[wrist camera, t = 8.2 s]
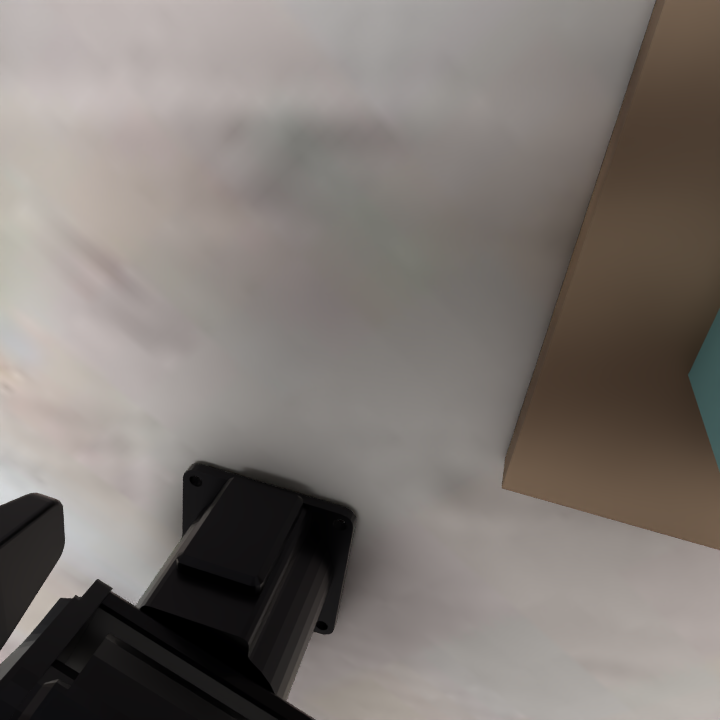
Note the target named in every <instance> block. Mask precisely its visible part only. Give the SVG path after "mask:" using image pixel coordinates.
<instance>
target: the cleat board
mask: <svg viewBox="0 0 720 720" xmlns="http://www.w3.org/2000/svg"><path fill="white" fill-rule="evenodd" d="M719 308H720V0H656V3H655V6H654V9H653V12H652V15H651V18H650V21H649V24H648V27H647V30H646V33H645V36H644V39H643V42H642V45H641V48H640V51H639V54H638V57H637V60H636V63H635V66H634V69H633V72H632V76H631V79H630V82H629V85H628V88H627V91H626V94H625V97H624V100H623V103H622V106H621V109H620V112H619V115H618V118H617V121H616V124H615V127H614V130H613V133H612V136H611V139H610V142H609V145H608V148H607V151H606V154H605V157H604V160H603V163H602V166H601V169H600V173H599V176H598V179H597V182H596V185H595V188H594V191H593V194H592V197H591V200H590V203H589V206H588V209H587V212H586V215H585V218H584V221H583V224H582V227H581V230H580V233H579V236H578V239H577V242H576V245H575V248H574V251H573V254H572V257H571V260H570V263H569V266H568V270H567V273H566V276H565V279H564V282H563V285H562V288H561V291H560V294H559V297H558V300H557V303H556V306H555V309H554V312H553V315H552V318H551V321H550V324H549V327H548V330H547V333H546V336H545V339H544V342H543V345H542V348H541V351H540V354H539V357H538V360H537V363H536V366H535V370H534V373H533V376H532V379H531V382H530V385H529V388H528V391H527V394H526V397H525V400H524V403H523V406H522V409H521V412H520V415H519V418H518V421H517V424H516V427H515V430H514V433H513V436H512V439H511V442H510V445H509V448H508V451H507V454H506V457H505V464H504V472H503V481H502V488H503V489H506V490H510V491H513V492H517V493H520V494H524V495H527V496H531V497H534V498H538V499H542V500H545V501H549V502H552V503H556V504H559V505H563V506H566V507H570V508H573V509H577V510H580V511H584V512H587V513H591V514H594V515H598V516H601V517H605V518H608V519H612V520H616V521H619V522H623V523H626V524H630V525H633V526H637V527H640V528H644V529H647V530H651V531H654V532H658V533H661V534H665V535H668V536H672V537H675V538H679V539H682V540H686V541H690V542H693V543H697V544H700V545H704V546H707V547H711V548H714V549H718V550H720V471H719V468H718V465H717V462H716V459H715V456H714V453H713V450H712V447H711V444H710V441H709V438H708V435H707V432H706V429H705V426H704V422H703V419H702V416H701V413H700V410H699V407H698V404H697V401H696V398H695V395H694V392H693V389H692V386H691V383H690V380H689V376H688V374H689V372H690V370H691V368H692V366H693V363H694V361H695V359H696V357H697V355H698V353H699V351H700V349H701V347H702V344H703V342H704V340H705V338H706V336H707V334H708V332H709V330H710V328H711V325H712V323H713V321H714V319H715V317H716V315H717V313H718V311H719Z"/></svg>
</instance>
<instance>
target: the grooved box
mask: <svg viewBox="0 0 720 720" xmlns="http://www.w3.org/2000/svg"><path fill="white" fill-rule="evenodd" d="M688 376H689V380H690V383H691V386H692V389H693V392H694V395H695V398H696V401H697V404H698V407H699V410H700V413H701V416H702V419H703V422H704V426H705V429H706V432H707V435H708V438H709V441H710V444H711V447H712V450H713V453H714V456H715V459H716V462H717V465H718V468H719V471H720V308H719V311H718V313H717V315H716V317H715V319H714V321H713V323H712V325H711V328H710V330H709V332H708V334H707V336H706V338H705V340H704V342H703V344H702V347H701V349H700V351H699V353H698V355H697V357H696V359H695V361H694V363H693V366H692V368H691V370H690V372H689V374H688Z"/></svg>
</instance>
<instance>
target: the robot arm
mask: <svg viewBox="0 0 720 720" xmlns="http://www.w3.org/2000/svg"><path fill="white" fill-rule="evenodd" d="M196 476H197V477H199V478H200V479H201V480H200V479H198V478H197V477H196ZM338 519H341V520H343V521H344V522H345V523H343V522H340V521H338ZM355 525H356V516H355V514H354V513H353V512H352V511H351V510H350V509H348V508H346V507H343V506H340V505H337V504H333V503H330V502H327V501H323V500H320V499H317V498H313V497H310V496H307V495H303V494H300V493H297V492H293V491H290V490H287V489H283V488H280V487H276V486H273V485H270V484H266V483H263V482H260V481H256V480H253V479H250V478H246V477H243V476H240V475H236V474H233V473H230V472H226V471H223V470H219V469H216V468H213V467H209V466H206V465H203V464H197V463H196V464H192V465H191V466H190V467H189V468H188V469H187V471H186V472H185V473H184V476H183V533H182V539H181V541H180V542H179V543H178V545H177V546H176V548H175V549H174V551H173V552H172V554H171V555H170V556H169V558H168V559H167V561H166V562H165V564H164V565H163V567H162V568H161V570H160V571H159V572H158V574H157V575H156V577H155V578H154V580H153V581H152V583H151V584H150V585H149V587H148V588H147V590H146V591H145V593H144V594H143V596H142V597H141V598H140V600H139V601H138V603H137V604H136V606H134V605H132V604H131V603H129V602H128V601H126V600H124V599H123V598H121V597H120V596H118V595H116V594H115V593H113V592H112V591H111V590H112V589H113V588H111V587H110V586H108V585H107V584H105V583H103V582H102V581H100V580H99V579H97V580H96V581H95V582H94V583H93V585H92V586H91V587H90V588H89V589H88V590H87V591H86V593H85V594H84V595H83V596H82V597H78V596H77V595H75V596H74V598H60V599H59V600H58V601H57V603H56V604H55V605H54V606H53V608H52V609H51V610H50V611H49V612H48V614H47V615H46V616H45V617H44V619H43V620H42V621H41V622H40V623H39V625H38V626H37V627H36V628H35V629H34V631H33V632H32V633H31V634H30V635H29V636H28V637H27V639H26V640H25V641H24V642H23V643H22V644H21V645H20V646H19V647H18V648H17V649H16V650H15V651H14V652H13V653H12V654H11V655H10V656H9V657H7V658H6V659H5V660H4V661H3V662H2V663H1V664H0V720H315V719H314V718H312V717H310V716H309V715H307V714H306V713H304V712H302V711H301V710H299V709H298V708H296V707H294V706H293V705H291V704H290V703H288V702H287V701H286V700H287V697H288V695H289V692H290V690H291V687H292V684H293V682H294V679H295V677H296V674H297V672H298V669H299V666H300V664H301V661H302V659H303V656H304V653H305V651H306V648H307V646H308V643H309V640H310V638H311V635H312V633H313V631H314V632H317V633H320V634H330V633H332V632H333V630H334V628H335V625H336V622H337V617H338V612H339V607H340V602H341V597H342V592H343V587H344V581H345V576H346V571H347V566H348V561H349V556H350V551H351V546H352V540H353V535H354V530H355ZM64 544H65V533H64V515H63V505H62V504H61V502H60V501H59V500H57V499H54V498H51V497H48V496H46V495H43V494H39V493H30V494H27V495H24V496H22V497H20V498H17V499H15V500H12V501H10V502H8V503H5V504H3V505H1V506H0V650H1V649H2V647H3V646H4V644H5V643H6V641H7V640H8V638H9V637H10V635H11V634H12V632H13V631H14V629H15V627H16V626H17V624H18V623H19V621H20V620H21V618H22V616H23V615H24V613H25V612H26V610H27V609H28V607H29V605H30V604H31V602H32V601H33V599H34V598H35V596H36V594H37V593H38V591H39V590H40V588H41V587H42V585H43V583H44V582H45V580H46V579H47V577H48V576H49V574H50V572H51V571H52V569H53V568H54V566H55V565H56V563H57V561H58V560H59V558H60V556H61V554H62V552H63V549H64Z"/></svg>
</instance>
